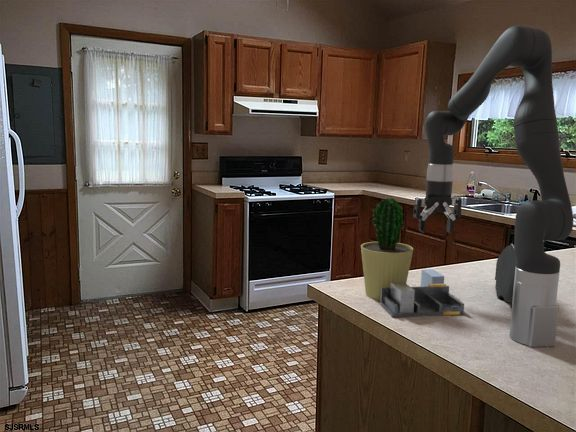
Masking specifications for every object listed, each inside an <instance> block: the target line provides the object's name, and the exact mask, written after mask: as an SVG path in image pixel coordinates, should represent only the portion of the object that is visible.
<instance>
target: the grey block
mask: <svg viewBox="0 0 576 432" xmlns="http://www.w3.org/2000/svg"><path fill="white" fill-rule="evenodd" d="M428 284H445V276H444V275H443V274H442V273H440V272H438V271H436V269H432V268H429V269H428V268H427V269H425V268H424V269H421V277H420V287H421V286H428Z"/></svg>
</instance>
